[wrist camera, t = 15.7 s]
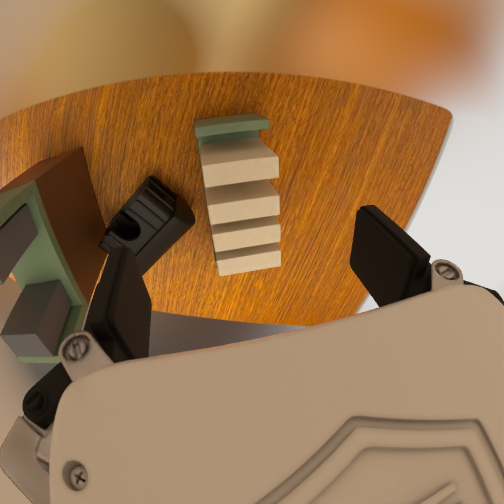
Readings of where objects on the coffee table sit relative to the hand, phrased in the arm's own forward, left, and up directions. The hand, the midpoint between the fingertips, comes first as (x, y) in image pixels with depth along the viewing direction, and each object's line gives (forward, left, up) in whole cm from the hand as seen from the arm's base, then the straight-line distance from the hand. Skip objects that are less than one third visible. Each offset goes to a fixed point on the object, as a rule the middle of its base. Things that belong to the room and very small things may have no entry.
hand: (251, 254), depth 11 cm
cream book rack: (+5, +2, -24) cm, 24 cm away
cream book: (+1, +2, -23) cm, 23 cm away
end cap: (+8, -9, -24) cm, 27 cm away
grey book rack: (+4, -19, -24) cm, 31 cm away
